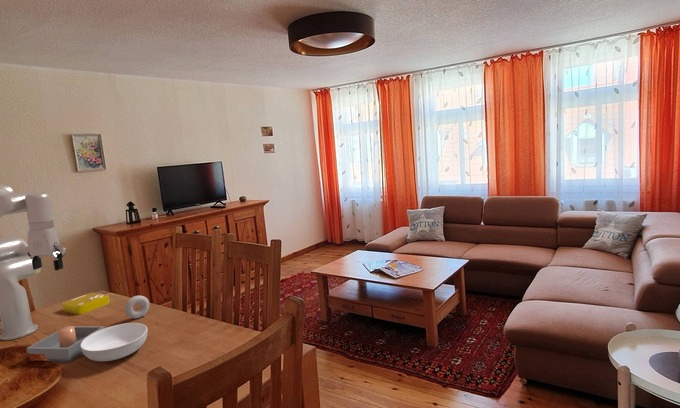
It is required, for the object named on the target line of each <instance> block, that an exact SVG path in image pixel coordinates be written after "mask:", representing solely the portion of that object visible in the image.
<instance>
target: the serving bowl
mask: <svg viewBox="0 0 680 408" xmlns="http://www.w3.org/2000/svg"><path fill="white" fill-rule="evenodd" d="M147 337H148V327H147V325H145V324H144V323H140V322H126V323H120V324H115V325H112V326H108V327H105V329H102V330H99V331H97V332H95V333H93V334H91V335H89V336H88V337H86V338H85V339H84V340H83V341H82V342H81V344H80V347H81V350H82V352H83V354H82V355H83V356H85V357H86V358H87V359H89V360H91V361H95V362H110V361H115V360H119V359H122V358H125V357H127V356H129V355H131V354H133V353H135V352H137V350H139V348H141V347H142V346H143V345H144V343H145V342H146V339H147Z"/></svg>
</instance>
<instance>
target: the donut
mask: <svg viewBox="0 0 680 408" xmlns="http://www.w3.org/2000/svg"><path fill="white" fill-rule="evenodd" d="M136 304H140V308H139V309H137V310H135V309H134V307H135V306H136ZM149 308H150V300H149V299H148V298H147V297H146V296H143V295H134V296H132V297H131V298H129V299H128V300H127V302H125V305H124V313H125V315H126V316H127V317H128V318H131V319H140V318H142V317H144V316H145V315H146V314H147V312H149Z"/></svg>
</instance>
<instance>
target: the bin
mask: <svg viewBox="0 0 680 408" xmlns="http://www.w3.org/2000/svg"><path fill="white" fill-rule="evenodd" d="M68 326H69V325H68ZM68 326H67V325H66V326H65V327H68ZM74 328H75V334H76V339H77V342H76V343H75V344H73V345H71V346H70V347H68V348H60V343H59V338H58V333H57V331H55V332H54V333H52V334H50V335H49V336H46V337H45V338H42V339H41V340H39V341H37V342H35V343H33V344H32V345H30V346H28V347H26V353H29V354H40V353H42V354H44V355H45V357H46V358H47V359H48V360H49V361H51V362H50V363H72V362H73V361H75V360H76V359H78V358H79V357H80V356H83V355H84V354H83V352H82V350H81V347H80V344H81V342H82V341H83V340H84V339H85V338H86V337H88V336H89V335H91V334H93V333H95V332H97V331H99V330H102V329H105V328H106V326H99V325H98V326H95V325H94V326H93V325H92V326H91V325H90V326H89V325H88V326H87V325H86V326H83V325H79V326H78V325H76V326H74Z"/></svg>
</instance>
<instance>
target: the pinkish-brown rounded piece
mask: <svg viewBox="0 0 680 408" xmlns="http://www.w3.org/2000/svg"><path fill="white" fill-rule="evenodd" d="M56 332H57V333H58V338H59V343H60V348H68V347H70V346H71V345H73V344H75V343H76V342H77V339H76V334H75V328H74V326H73V325H68V327H66V326H65V327H61V328H59V329H58V330H57V331H56Z"/></svg>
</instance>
